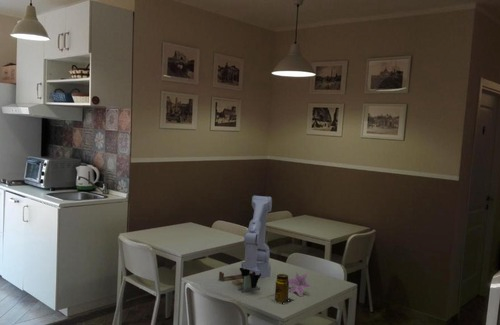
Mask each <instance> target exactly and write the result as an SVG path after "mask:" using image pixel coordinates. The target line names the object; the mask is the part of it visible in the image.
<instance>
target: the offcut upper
mask: <svg viewBox="0 0 500 325" xmlns="http://www.w3.org/2000/svg"><path fill="white" fill-rule="evenodd" d="M231 282H232V283H233V284H232V283H231V284H232V285H234V284H235V285H238V286H243V285H242V284H244V282H243V279H237V280H231ZM235 285H234V286H235Z"/></svg>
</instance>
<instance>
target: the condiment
mask: <svg viewBox="0 0 500 325" xmlns="http://www.w3.org/2000/svg"><path fill="white" fill-rule="evenodd" d="M288 279H289V275H288V274H286V273H279V274H277V276H276V281H275V288H274V289H275V291H274V292H275V293H274V298H273V299H271V301H272V302H275V301H276V302H275V303H278V302H279V303H278V304H281V305H287V304H288V303H290V302H293V300H295V298H290V297H289V291H290V290H289V287H290V285H289V281H288ZM288 300H289V301H288ZM282 303H283V304H282Z"/></svg>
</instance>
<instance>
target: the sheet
mask: <svg viewBox="0 0 500 325" xmlns="http://www.w3.org/2000/svg"><path fill="white" fill-rule="evenodd" d="M242 287H243V290H244V289H251V279H250V276H249V275H248V276H244V285H242Z"/></svg>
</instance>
